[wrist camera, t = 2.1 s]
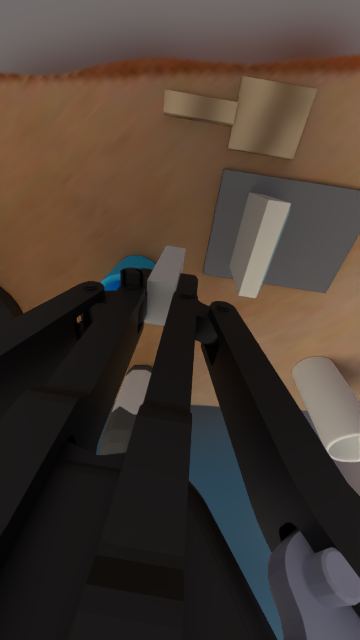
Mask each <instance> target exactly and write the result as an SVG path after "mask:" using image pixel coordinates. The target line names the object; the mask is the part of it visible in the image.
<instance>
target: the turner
mask: <svg viewBox="0 0 360 640" xmlns="http://www.w3.org/2000/svg"><path fill="white" fill-rule="evenodd" d="M316 92H317V89H315V88H309V87H303V86H297V85H292V84H286V83H280V82H275V81H269V80H263V79H258V78H252V77H246V76H243V77H242V79H241V84H240V89H239V94H238V99H237V102H235V101H229V100H223V99H217V98H212V97H206V96H200V95H194V94H189V93H183V92H177V91H171V90H165V94H164V109H163V112H164V114H165V115H166V116H172V117H178V118H184V119H190V120H196V121H202V122H207V123H213V124H219V125H225V126H231V127H232V128H231V133H230V137H229V142H228V147H227V149H231V150H237V151H242V152H248V153H254V154H260V155H266V156H272V157H278V158H284V159H290V160H291V159H293V158H294V155H295V152H296V149H297V146H298V144H299V141H300V138H301V135H302V132H303V129H304V126H305V124H306V121H307V118H308V115H309V112H310V109H311V106H312V104H313V101H314V98H315V95H316Z"/></svg>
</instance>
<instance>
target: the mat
mask: <svg viewBox="0 0 360 640" xmlns="http://www.w3.org/2000/svg"><path fill="white" fill-rule="evenodd" d="M249 192H250V193H257V194H263V195H267V196H270V197H273V198H276V199H279V200H282V201H286V202H289V203H291V205H290V208H289V209H291V210H290V213H289V215H288V218H287V221H286V223H285V226H284V229H283V231H282V234H281V237H280V239H279V242H278V245H277V247H276V250H275V253H274V255H273V258H272V261H271V263H270V266H269V269H268V271H267V274H266V277H265V279H264V282H263V284H270V285H276V286H283V287H289V288H296V289H302V290H308V291H315V292H321V293H326V291H327V290H328V288H329V286H330V284H331V283H332V281H333V279H334V277H335V276H336V274H337V272H338V270H339V269H340V267H341V265H342V263H343V262H344V260H345V258H346V256H347V255H348V253H349V251H350V249H351V248H352V246H353V244H354V242H355V241H356V239H357V237H358V235H359V234H360V190H354V189H347V188H341V187H334V186H328V185H322V184H315V183H309V182H302V181H296V180H290V179H283V178H277V177H270V176H264V175H258V174H251V173H245V172H238V171H232V170H226V169H223V174H222V179H221V184H220V189H219V194H218V199H217V204H216V209H215V214H214V219H213V224H212V229H211V234H210V239H209V244H208V249H207V254H206V259H205V264H204V269H203V274H206V275H212V276H219V277H225V278H231V279H233V276H232V272H231V269H230V262H231V259H232V255H233V251H234V247H235V244H236V240H237V236H238V233H239V229H240V225H241V221H242V218H243V214H244V210H245V206H246V203H247V199H248V195H249Z"/></svg>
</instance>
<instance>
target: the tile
mask: <svg viewBox="0 0 360 640" xmlns="http://www.w3.org/2000/svg"><path fill="white" fill-rule="evenodd" d="M290 205H291V203H289V202H286V201H282V200H279V199H276V198H273V197H270V196H267V195H263V194H257V193H250V192H249V195H248V199H247V203H246V206H245V210H244V214H243V218H242V221H241V225H240V229H239V233H238V236H237V240H236V244H235V247H234V251H233V255H232V259H231V262H230V269H231V272H232V276H233V279H234V283H235V286H236V289H237V293H238V296H245V297H251V298H256V297H257V294H258V293H259V292H260V290H261V287H262V284H263V282H264V279H265V277H266V274H267V271H268V269H269V266H270V263H271V261H272V258H273V255H274V253H275V250H276V247H277V245H278V242H279V239H280V237H281V234H282V231H283V229H284V226H285V223H286V221H287V218H288V215H289V213H290V210H291V209H289V208H290Z"/></svg>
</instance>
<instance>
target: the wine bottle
mask: <svg viewBox="0 0 360 640" xmlns="http://www.w3.org/2000/svg"><path fill="white" fill-rule="evenodd" d="M152 369H153V368H151V367H149V366H148V365H135V366H133V367H132V368H131V369H130V370H129V371H128V372H127V374H126V376H125V379H124V382H123V384H122V387H121V390H120V392H119V395H118V397H117V400H116V403H115V405H114V408H113V411H112V413H111V416H110V418H109V421H108V424H107V426H106V429H105V432H104V435H103V438H102V445H101V455H107V454H116V453H125V452H126V450H127V447H128V444H129V440H130V437H131V433H132V430H133V426H134V423H135V419H136V416H137V413H138V410H139V407H140V405H142V404H143V401H144V398H145V394H146V391H147V387H148V384H149V380H150V376H151V373H152Z"/></svg>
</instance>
